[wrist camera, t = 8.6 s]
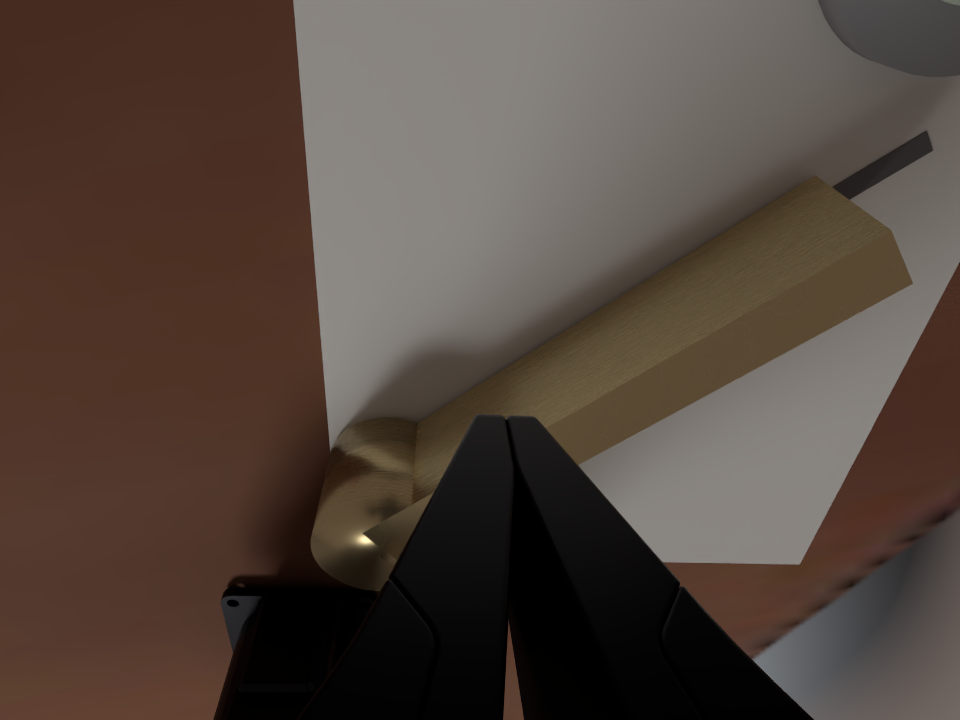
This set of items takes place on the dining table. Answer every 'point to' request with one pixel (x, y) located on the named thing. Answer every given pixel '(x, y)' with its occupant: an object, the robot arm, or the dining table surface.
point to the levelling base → (624, 216)
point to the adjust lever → (621, 364)
